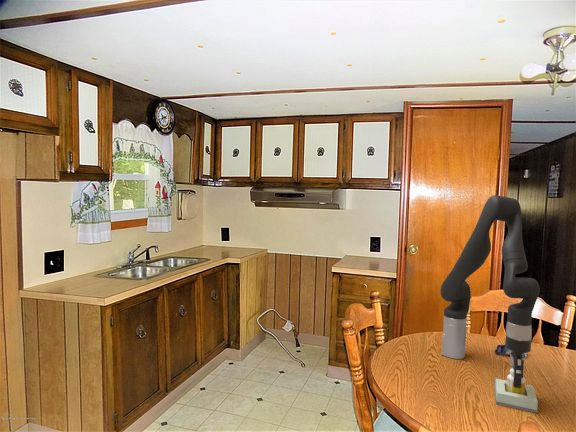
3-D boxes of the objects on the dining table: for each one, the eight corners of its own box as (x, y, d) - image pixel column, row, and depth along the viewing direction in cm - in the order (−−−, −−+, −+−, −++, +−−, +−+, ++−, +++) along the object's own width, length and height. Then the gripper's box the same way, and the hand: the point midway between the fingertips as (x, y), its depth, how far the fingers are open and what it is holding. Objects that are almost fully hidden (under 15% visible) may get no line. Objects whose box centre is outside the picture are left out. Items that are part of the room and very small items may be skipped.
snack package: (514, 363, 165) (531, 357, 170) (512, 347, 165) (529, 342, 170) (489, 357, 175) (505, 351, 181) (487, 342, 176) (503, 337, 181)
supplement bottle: (502, 395, 135) (504, 368, 135) (512, 392, 137) (514, 365, 137) (517, 403, 130) (519, 375, 130) (527, 399, 133) (529, 372, 132)
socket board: (496, 404, 131) (496, 393, 131) (493, 382, 146) (494, 372, 146) (538, 413, 126) (538, 401, 126) (531, 389, 141) (531, 379, 141)
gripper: (504, 327, 141) (502, 371, 141) (507, 340, 128) (504, 388, 129) (528, 330, 137) (526, 375, 138) (534, 344, 124) (531, 394, 125)
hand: (515, 381), depth 133 cm, fingers open, 8 cm apart
